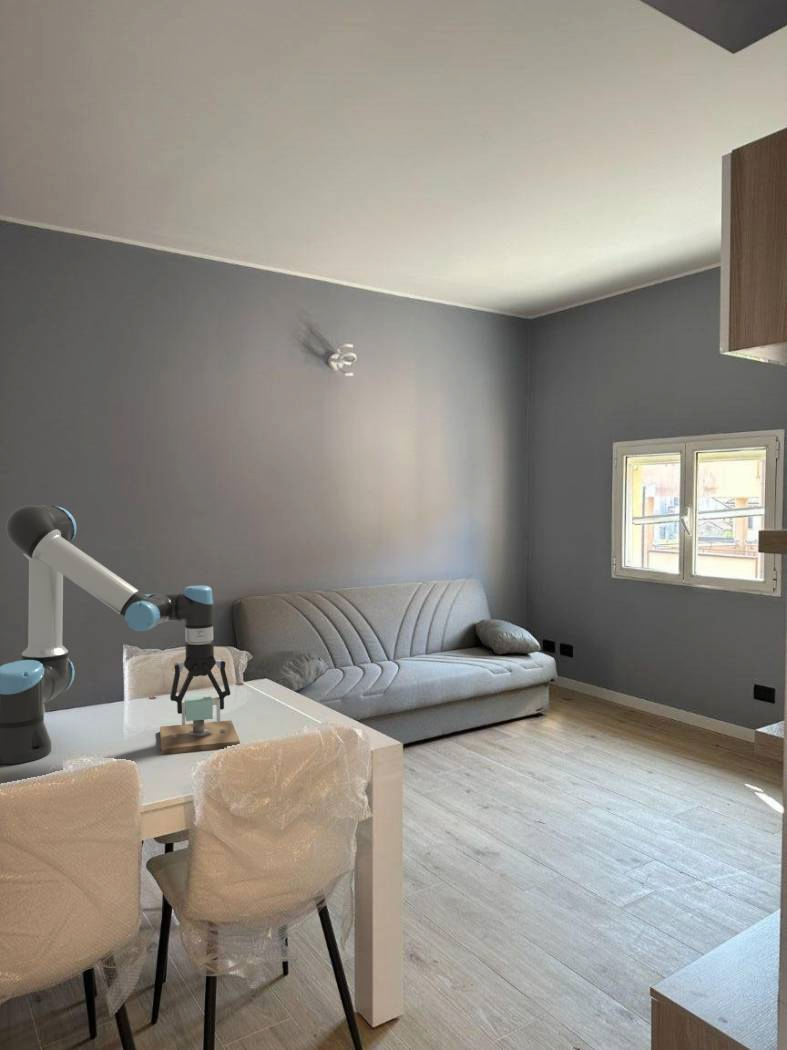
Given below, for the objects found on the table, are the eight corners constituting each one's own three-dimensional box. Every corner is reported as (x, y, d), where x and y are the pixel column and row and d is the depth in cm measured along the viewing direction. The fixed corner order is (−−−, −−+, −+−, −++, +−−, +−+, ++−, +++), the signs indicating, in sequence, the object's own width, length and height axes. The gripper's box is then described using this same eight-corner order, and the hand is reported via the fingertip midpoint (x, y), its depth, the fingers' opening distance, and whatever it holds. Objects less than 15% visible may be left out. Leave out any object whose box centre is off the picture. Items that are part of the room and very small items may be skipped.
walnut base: (161, 754, 188) (161, 731, 188) (160, 731, 207) (160, 710, 207) (239, 746, 195) (239, 724, 195) (231, 725, 214) (231, 705, 214)
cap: (186, 721, 196) (186, 701, 196) (184, 714, 203) (184, 695, 203) (217, 718, 199) (217, 699, 199) (215, 711, 206) (215, 692, 206)
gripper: (159, 647, 193) (160, 731, 194) (240, 641, 200) (242, 722, 201) (158, 642, 201) (160, 723, 201) (237, 636, 207) (238, 715, 208)
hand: (201, 722), depth 201 cm, fingers open, 9 cm apart
